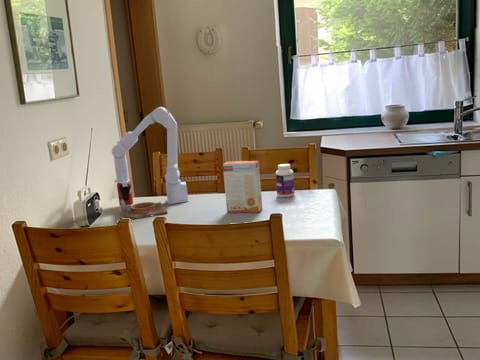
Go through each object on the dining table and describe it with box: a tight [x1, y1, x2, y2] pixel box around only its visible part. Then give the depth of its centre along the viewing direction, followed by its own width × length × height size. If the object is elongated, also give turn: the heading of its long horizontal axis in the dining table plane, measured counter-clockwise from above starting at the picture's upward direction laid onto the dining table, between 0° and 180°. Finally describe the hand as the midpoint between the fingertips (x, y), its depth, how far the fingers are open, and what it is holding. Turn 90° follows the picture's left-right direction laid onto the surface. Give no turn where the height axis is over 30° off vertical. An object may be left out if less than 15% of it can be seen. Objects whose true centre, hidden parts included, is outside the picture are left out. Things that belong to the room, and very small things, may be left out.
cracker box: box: [222, 160, 263, 214], centre depth 209 cm, size 14×6×21 cm, turn 71°
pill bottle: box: [275, 163, 295, 198], centre depth 228 cm, size 8×8×14 cm
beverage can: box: [116, 181, 134, 207], centre depth 235 cm, size 6×6×12 cm
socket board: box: [120, 199, 169, 220], centre depth 222 cm, size 18×18×5 cm
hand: (125, 198), depth 235 cm, fingers closed on beverage can, 6 cm apart
